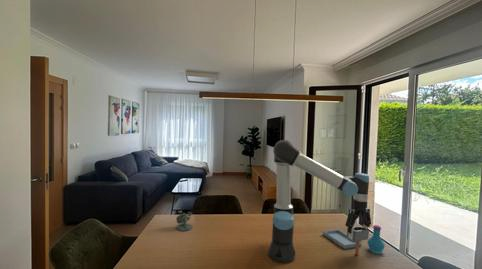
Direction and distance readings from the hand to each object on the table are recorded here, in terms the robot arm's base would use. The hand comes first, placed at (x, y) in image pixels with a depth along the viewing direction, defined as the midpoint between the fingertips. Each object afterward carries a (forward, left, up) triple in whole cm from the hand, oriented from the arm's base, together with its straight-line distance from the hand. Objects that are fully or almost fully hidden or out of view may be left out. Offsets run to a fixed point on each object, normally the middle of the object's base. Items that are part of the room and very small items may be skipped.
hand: (357, 237), depth 141 cm
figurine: (-92, +61, -10) cm, 111 cm away
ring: (0, 0, 0) cm, 0 cm away
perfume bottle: (+15, 0, -10) cm, 19 cm away
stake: (0, 0, -10) cm, 10 cm away
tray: (+4, +17, -10) cm, 20 cm away
